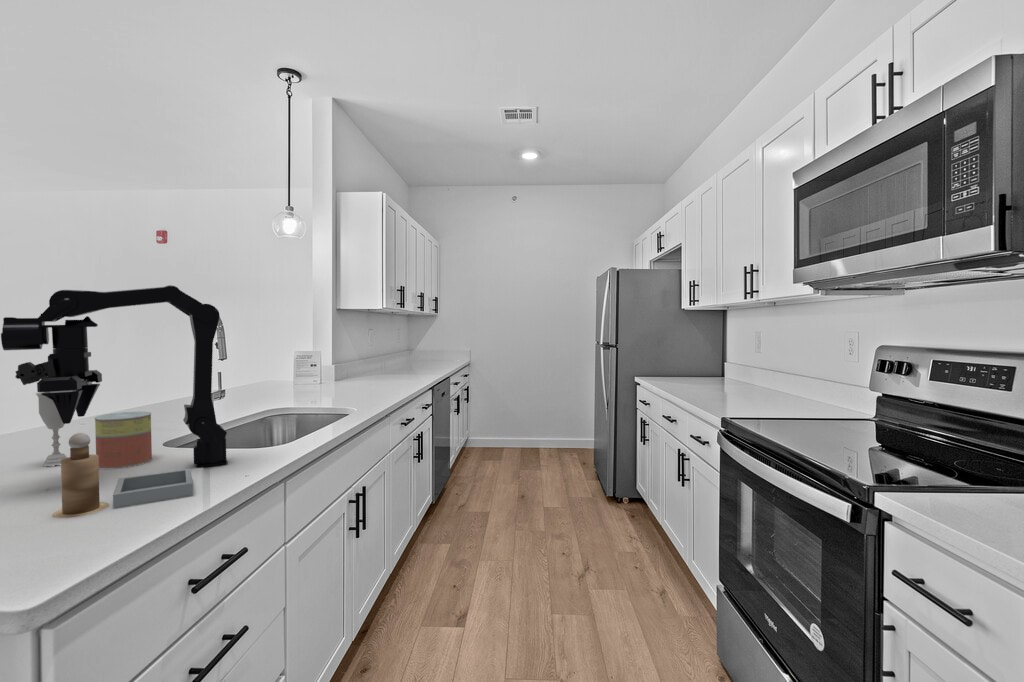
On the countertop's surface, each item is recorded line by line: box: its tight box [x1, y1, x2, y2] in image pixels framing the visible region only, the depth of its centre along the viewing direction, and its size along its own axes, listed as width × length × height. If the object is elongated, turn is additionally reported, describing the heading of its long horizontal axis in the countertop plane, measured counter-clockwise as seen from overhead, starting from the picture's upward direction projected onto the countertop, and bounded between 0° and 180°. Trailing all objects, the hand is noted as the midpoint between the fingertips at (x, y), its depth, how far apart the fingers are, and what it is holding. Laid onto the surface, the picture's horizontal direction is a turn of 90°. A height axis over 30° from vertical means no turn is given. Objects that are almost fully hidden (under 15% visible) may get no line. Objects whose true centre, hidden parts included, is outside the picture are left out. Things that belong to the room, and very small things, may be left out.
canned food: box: [94, 411, 153, 469], centre depth 126 cm, size 11×11×12 cm
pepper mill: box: [60, 432, 101, 515], centre depth 92 cm, size 5×5×14 cm
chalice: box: [35, 392, 68, 467], centre depth 125 cm, size 7×7×18 cm
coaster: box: [51, 501, 110, 519], centre depth 92 cm, size 8×8×1 cm
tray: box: [112, 468, 194, 510], centre depth 101 cm, size 12×12×3 cm
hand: (74, 419), depth 109 cm, fingers open, 9 cm apart
